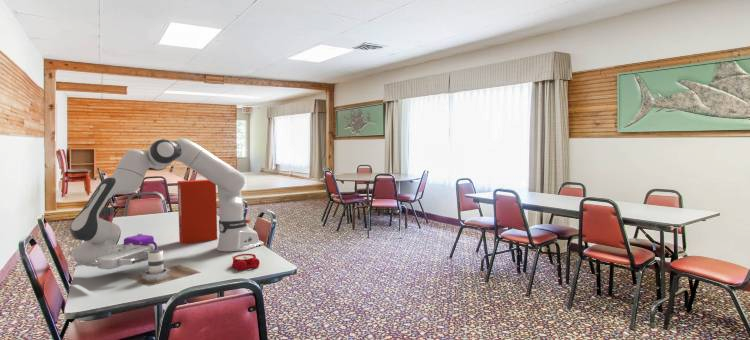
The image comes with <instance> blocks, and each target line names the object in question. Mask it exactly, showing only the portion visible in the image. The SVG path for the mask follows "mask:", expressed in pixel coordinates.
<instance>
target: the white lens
mask: <svg viewBox="0 0 750 340" xmlns="http://www.w3.org/2000/svg"><path fill="white" fill-rule="evenodd" d="M147 260H148V262H147V263H148V265H147V266H148V270H149V274H159V273H163V272H164V268H165V267H164V266H165V265H164V261H165V260H164V250H162V249H157V250H154V251H149V252H148V258H147Z"/></svg>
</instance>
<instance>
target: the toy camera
mask: <svg viewBox="0 0 750 340" xmlns="http://www.w3.org/2000/svg"><path fill="white" fill-rule="evenodd" d="M129 243H131V244H133V245H141V246H148V247H150V248H151V251H154V250H158V244H157V243H156V241H155V239H154V236H153V235H148V234H143V233H137V234H136V235H132V236H128V237H124V238H123V244H129Z"/></svg>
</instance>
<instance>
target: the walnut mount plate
mask: <svg viewBox="0 0 750 340" xmlns="http://www.w3.org/2000/svg"><path fill="white" fill-rule="evenodd" d="M166 268H167V269H170V277H169V278H168V279H165V280H161V281H157V282H146V281H143V280H142V273H140V274H135V275H131V276H128V277H127V278H129V279H131V280H133V281H135V282H138V283H141V284H143V285H145V286H147V287H151V286H155V285H160V284H163V283H166V282H170V281H173V280H178V279H182V278H186V277H189V276H193V275H197V274H200V273H202V271H199V270H196V269H193V268H190V267H187V266H184V265H181V264H178V265H174V266H173V265H172V266H168V267H166Z"/></svg>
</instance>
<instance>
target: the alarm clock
mask: <svg viewBox="0 0 750 340" xmlns="http://www.w3.org/2000/svg"><path fill="white" fill-rule="evenodd" d="M231 258H232V263H231V268H233V269H235V270H237V271H245V270H246V269H247V270H248V269H256V268H258V267H259V266H260V263H261V262H260V260H259V259H258V257H257V256H256V254H254V253H240V254H237V255H234V256H232V257H231Z"/></svg>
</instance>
